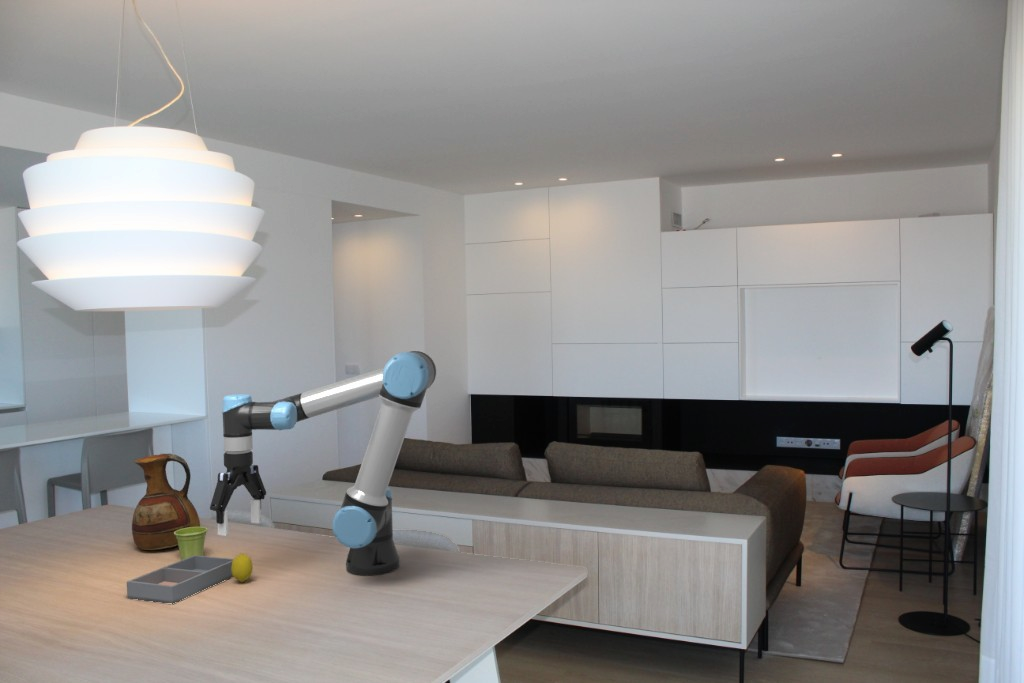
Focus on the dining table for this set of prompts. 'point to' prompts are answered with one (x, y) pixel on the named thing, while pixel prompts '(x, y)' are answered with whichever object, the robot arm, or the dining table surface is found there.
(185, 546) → the plant pot
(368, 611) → the dining table surface
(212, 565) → the sorting tray
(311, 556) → the dining table surface
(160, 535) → the ceramic pitcher
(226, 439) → the robot arm
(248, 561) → the lemon
